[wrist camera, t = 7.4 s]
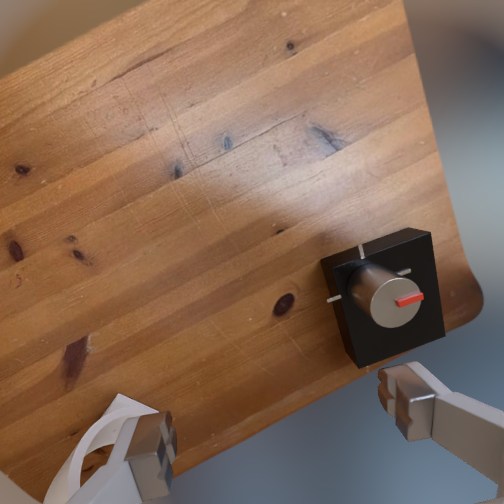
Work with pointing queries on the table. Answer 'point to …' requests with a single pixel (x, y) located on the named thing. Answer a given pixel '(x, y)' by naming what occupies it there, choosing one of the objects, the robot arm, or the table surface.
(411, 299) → the dial
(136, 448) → the robot arm
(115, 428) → the headphone stand
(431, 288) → the panel
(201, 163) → the table surface
